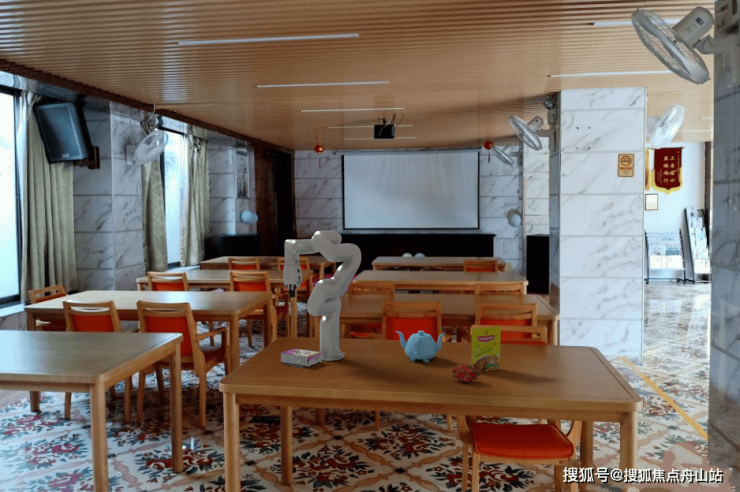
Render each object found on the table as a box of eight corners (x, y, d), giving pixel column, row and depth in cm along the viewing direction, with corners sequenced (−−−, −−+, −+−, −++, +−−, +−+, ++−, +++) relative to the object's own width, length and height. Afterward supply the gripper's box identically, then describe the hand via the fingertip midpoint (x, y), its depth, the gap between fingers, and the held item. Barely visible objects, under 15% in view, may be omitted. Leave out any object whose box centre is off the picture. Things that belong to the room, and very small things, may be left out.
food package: (471, 372, 268) (472, 329, 267) (470, 372, 269) (471, 328, 268) (500, 369, 274) (501, 326, 272) (499, 368, 275) (499, 326, 273)
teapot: (445, 361, 288) (445, 333, 287) (409, 365, 281) (409, 336, 280) (430, 354, 303) (430, 326, 302) (395, 357, 296) (395, 329, 295)
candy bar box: (294, 347, 293) (321, 352, 285) (294, 357, 294) (321, 362, 285) (280, 352, 284) (308, 356, 275) (280, 362, 284) (308, 367, 276)
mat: (314, 363, 283) (314, 363, 283) (302, 367, 276) (302, 367, 276) (295, 360, 290) (295, 359, 290) (283, 364, 283) (283, 363, 283)
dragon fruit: (450, 383, 257) (477, 390, 253) (448, 376, 250) (476, 383, 246) (454, 365, 261) (481, 371, 257) (453, 357, 254) (481, 364, 250)
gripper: (307, 263, 312) (307, 297, 313) (286, 261, 321) (286, 295, 322) (297, 264, 306) (298, 299, 307) (276, 262, 314) (276, 297, 316)
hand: (292, 297), depth 314 cm, fingers closed
